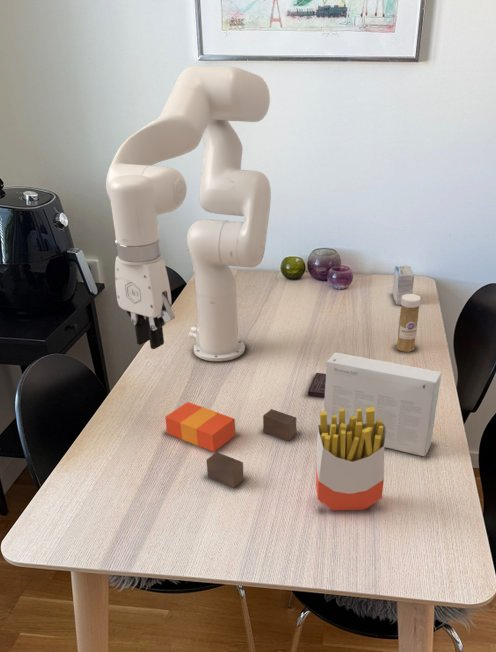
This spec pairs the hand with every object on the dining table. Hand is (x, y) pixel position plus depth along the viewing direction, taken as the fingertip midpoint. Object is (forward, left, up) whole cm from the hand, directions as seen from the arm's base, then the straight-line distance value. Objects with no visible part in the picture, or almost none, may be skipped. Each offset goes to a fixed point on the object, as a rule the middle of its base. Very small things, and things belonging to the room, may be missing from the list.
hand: (150, 343), depth 129 cm
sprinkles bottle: (+29, +58, -17) cm, 67 cm away
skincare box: (+41, +18, -17) cm, 48 cm away
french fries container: (+46, -3, -17) cm, 49 cm away
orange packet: (+11, 0, -17) cm, 20 cm away
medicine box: (+15, +86, -17) cm, 89 cm away
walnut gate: (+24, 0, -17) cm, 30 cm away
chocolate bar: (+28, +32, -17) cm, 46 cm away
